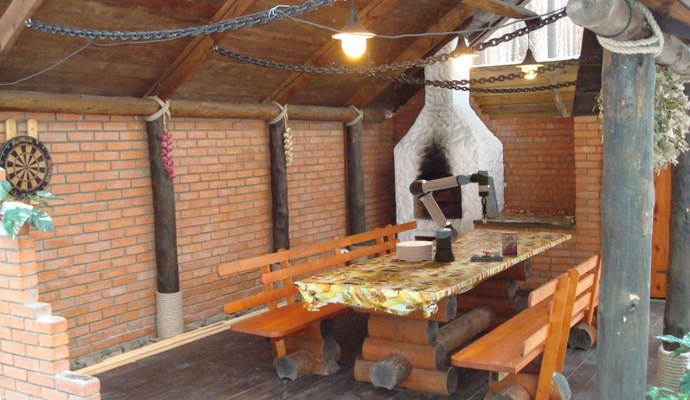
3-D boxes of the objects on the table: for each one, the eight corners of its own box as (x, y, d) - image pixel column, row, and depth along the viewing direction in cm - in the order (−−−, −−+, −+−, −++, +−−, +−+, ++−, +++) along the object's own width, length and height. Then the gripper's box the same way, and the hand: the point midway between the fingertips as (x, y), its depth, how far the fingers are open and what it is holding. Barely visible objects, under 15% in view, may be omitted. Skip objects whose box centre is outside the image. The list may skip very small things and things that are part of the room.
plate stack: (432, 261, 499) (431, 246, 498) (394, 262, 505) (393, 246, 504) (434, 255, 526) (434, 240, 526) (399, 255, 532) (398, 241, 531)
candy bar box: (502, 254, 514) (501, 232, 513) (502, 253, 519) (501, 231, 517) (517, 254, 511) (516, 232, 510) (517, 253, 516) (517, 231, 514)
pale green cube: (494, 257, 489) (494, 251, 489) (494, 256, 492) (494, 250, 492) (499, 256, 488) (499, 251, 488) (499, 256, 492) (499, 250, 491)
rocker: (482, 253, 490) (482, 251, 490) (482, 252, 494) (482, 250, 494) (490, 255, 489) (490, 252, 489) (490, 254, 493) (490, 251, 493)
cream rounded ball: (473, 259, 492) (473, 253, 492) (473, 258, 496) (473, 253, 495) (478, 259, 491) (478, 253, 491) (478, 258, 495) (478, 252, 495)
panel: (470, 261, 490) (470, 255, 490) (470, 259, 498) (470, 253, 498) (503, 260, 486) (502, 254, 485) (502, 258, 494) (502, 253, 493)
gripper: (488, 191, 488) (490, 223, 490) (488, 190, 501) (489, 221, 502) (478, 191, 489) (479, 224, 491) (478, 190, 502) (479, 222, 504)
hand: (484, 222), depth 497 cm, fingers closed
